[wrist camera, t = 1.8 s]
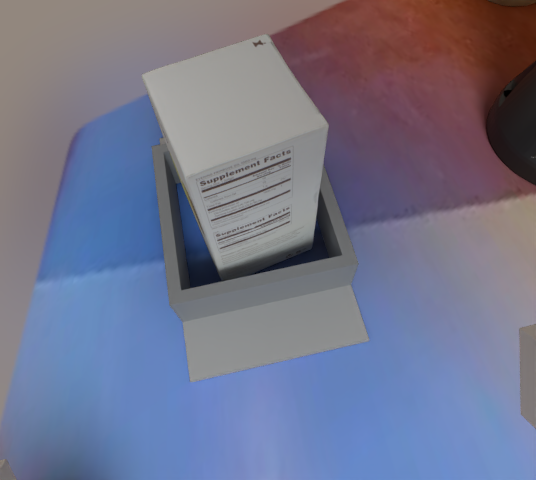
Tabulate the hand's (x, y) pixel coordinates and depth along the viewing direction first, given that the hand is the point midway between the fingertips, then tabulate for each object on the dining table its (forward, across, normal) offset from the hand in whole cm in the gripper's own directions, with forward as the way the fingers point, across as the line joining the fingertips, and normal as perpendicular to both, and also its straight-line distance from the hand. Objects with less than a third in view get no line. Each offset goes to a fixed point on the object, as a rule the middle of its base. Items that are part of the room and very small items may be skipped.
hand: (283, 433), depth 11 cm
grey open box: (+30, +1, -3) cm, 31 cm away
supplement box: (+31, +1, -3) cm, 31 cm away
